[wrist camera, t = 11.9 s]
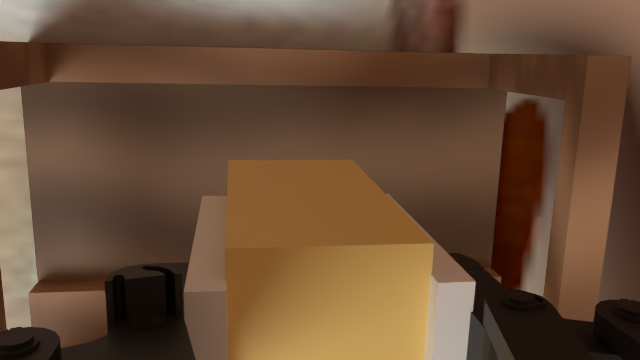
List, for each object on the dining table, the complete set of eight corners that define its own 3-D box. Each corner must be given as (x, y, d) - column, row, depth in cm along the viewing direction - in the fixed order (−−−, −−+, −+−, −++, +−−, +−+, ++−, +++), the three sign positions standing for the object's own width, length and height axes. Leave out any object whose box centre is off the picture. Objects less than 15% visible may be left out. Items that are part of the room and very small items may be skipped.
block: (228, 160, 18) (224, 249, 11) (352, 159, 19) (433, 243, 11) (229, 277, 19) (227, 437, 12) (347, 273, 20) (420, 423, 12)
